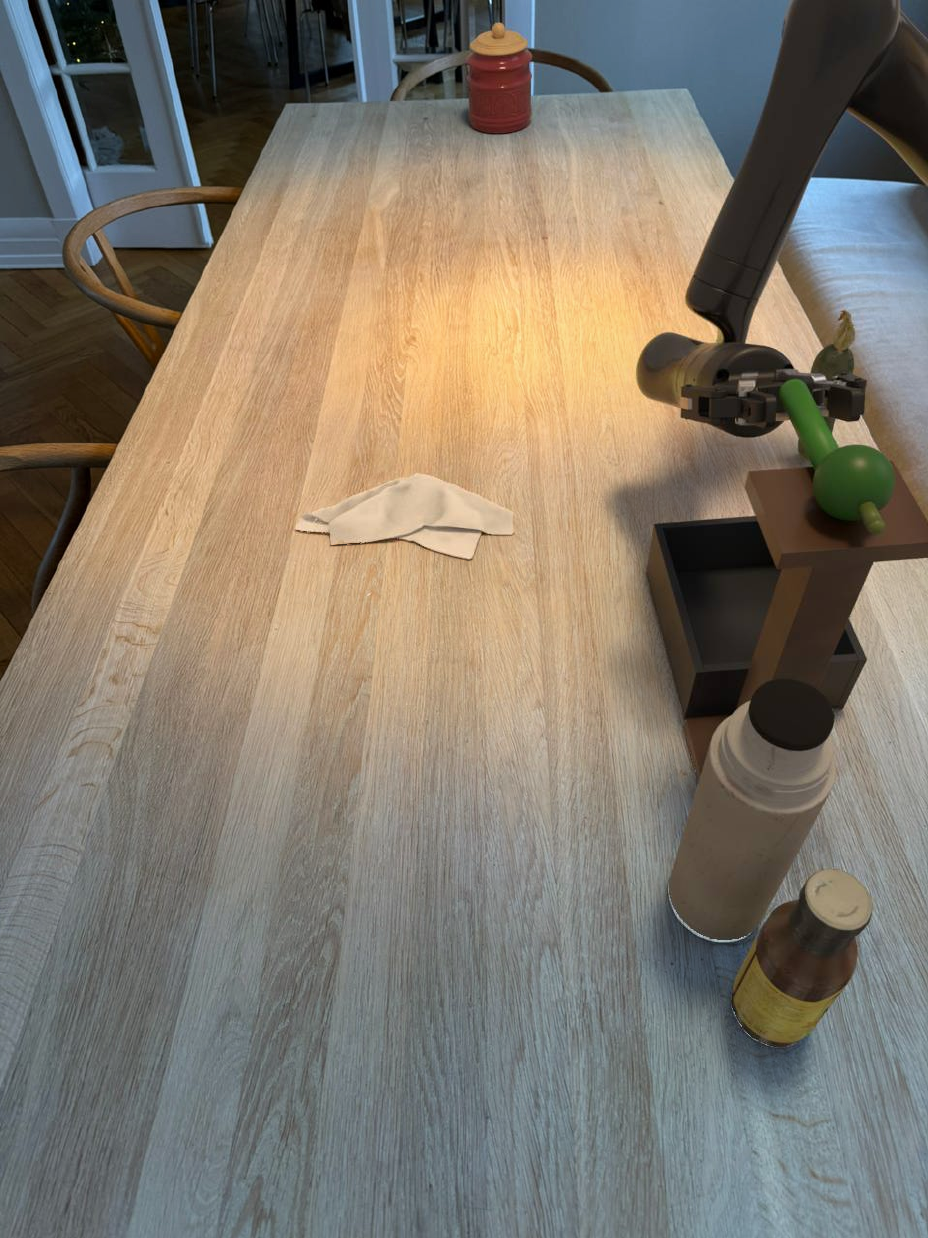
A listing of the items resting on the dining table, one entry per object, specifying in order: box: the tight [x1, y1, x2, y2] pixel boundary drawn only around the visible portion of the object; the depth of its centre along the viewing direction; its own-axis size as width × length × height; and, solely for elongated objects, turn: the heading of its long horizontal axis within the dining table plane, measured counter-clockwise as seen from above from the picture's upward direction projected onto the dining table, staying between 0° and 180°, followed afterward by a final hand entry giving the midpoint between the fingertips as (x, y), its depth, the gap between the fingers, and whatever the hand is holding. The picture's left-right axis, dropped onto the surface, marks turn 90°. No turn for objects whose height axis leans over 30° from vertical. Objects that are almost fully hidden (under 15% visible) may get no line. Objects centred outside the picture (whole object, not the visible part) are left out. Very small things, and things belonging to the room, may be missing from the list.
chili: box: [779, 379, 895, 535], centre depth 59 cm, size 5×17×5 cm, turn 3°
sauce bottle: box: [730, 868, 874, 1048], centre depth 61 cm, size 6×6×20 cm
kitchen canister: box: [465, 22, 533, 134], centre depth 175 cm, size 13×13×18 cm
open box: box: [645, 515, 868, 721], centre depth 89 cm, size 16×20×8 cm
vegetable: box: [797, 309, 856, 461], centre depth 101 cm, size 4×4×20 cm
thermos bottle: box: [668, 679, 837, 940], centre depth 63 cm, size 8×8×28 cm
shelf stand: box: [683, 460, 928, 783], centre depth 70 cm, size 10×8×32 cm
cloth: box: [294, 472, 515, 561], centre depth 106 cm, size 26×14×2 cm, turn 77°
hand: (813, 409), depth 61 cm, fingers open, 5 cm apart
